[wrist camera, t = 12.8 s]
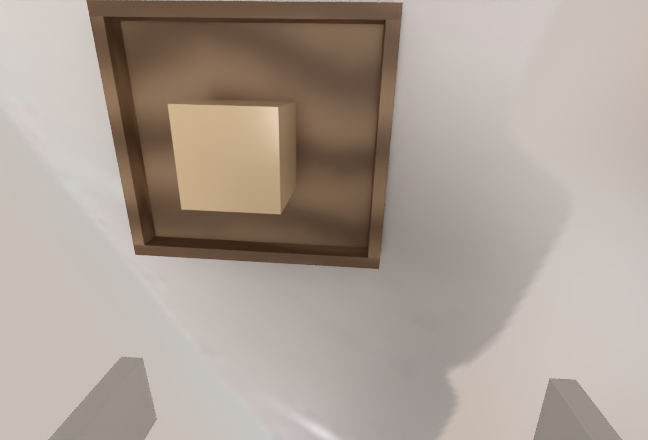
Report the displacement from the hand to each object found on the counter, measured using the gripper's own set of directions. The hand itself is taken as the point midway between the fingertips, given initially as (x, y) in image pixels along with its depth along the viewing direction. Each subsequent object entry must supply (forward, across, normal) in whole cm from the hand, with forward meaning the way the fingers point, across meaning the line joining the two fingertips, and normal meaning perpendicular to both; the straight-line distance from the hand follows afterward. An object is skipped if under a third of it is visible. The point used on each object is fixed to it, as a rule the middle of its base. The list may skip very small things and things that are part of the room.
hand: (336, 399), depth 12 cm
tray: (+22, +8, -6) cm, 24 cm away
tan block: (+20, +8, -6) cm, 23 cm away
